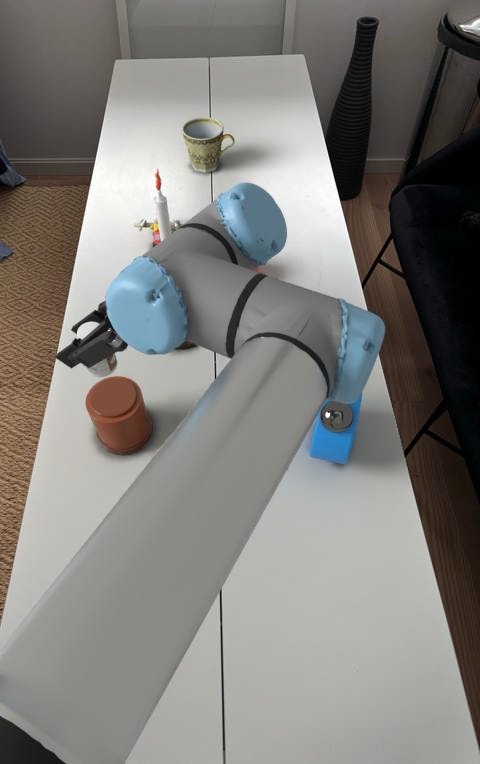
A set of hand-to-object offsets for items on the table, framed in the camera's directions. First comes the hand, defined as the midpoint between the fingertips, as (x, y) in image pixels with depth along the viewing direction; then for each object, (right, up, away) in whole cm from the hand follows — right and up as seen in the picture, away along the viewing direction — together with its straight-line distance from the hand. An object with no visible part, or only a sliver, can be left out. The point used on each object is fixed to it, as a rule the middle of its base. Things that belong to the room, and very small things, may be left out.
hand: (72, 347), depth 77 cm
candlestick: (+12, +5, +30) cm, 33 cm away
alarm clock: (+39, -15, +15) cm, 44 cm away
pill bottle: (+4, -3, +2) cm, 5 cm away
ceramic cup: (+16, +50, +62) cm, 81 cm away
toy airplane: (+6, +28, +47) cm, 55 cm away
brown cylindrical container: (+4, -13, +17) cm, 22 cm away
